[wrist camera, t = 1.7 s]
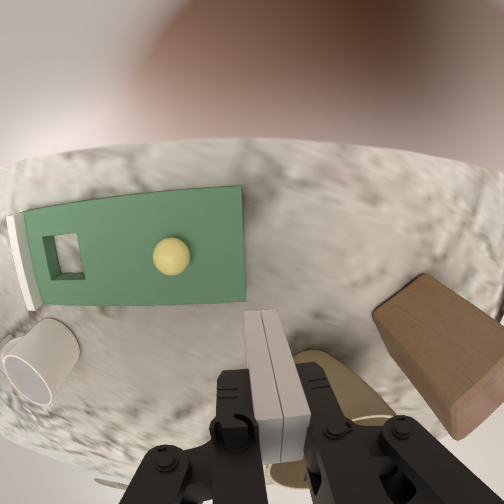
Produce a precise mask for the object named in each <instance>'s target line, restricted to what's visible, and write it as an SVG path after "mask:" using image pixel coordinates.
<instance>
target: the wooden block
mask: <svg viewBox="0 0 504 504" xmlns="http://www.w3.org/2000/svg"><path fill="white" fill-rule="evenodd" d="M373 316H374V321H375V323H376V325H377V327H378V330H379V332H380V334H381V336H382V338H383V340H384V343H385V345H386V347H387V349H388V352H389V354H390V356H391V357H392V358H393V359H394V361H395V362H396V363H397V364H398V366H399V367H400V368H401V370H402V371H403V372H404V373H405V375H406V376H407V377H408V379H409V380H410V381H411V383H412V384H413V385H414V387H415V388H416V389H417V390H418V392H419V393H420V394H421V396H422V397H423V398H424V400H425V401H426V403H427V404H428V405H429V407H430V408H431V409H432V411H433V412H434V413H435V415H436V416H437V417H438V419H439V420H440V422H441V423H442V424H443V426H444V427H445V429H446V430H447V431H448V433H449V434H450V436H451V437H452V438H453V439H455V440H457V441H459V440H461V439H463V438H465V437H466V436H467V435H468V434H469V433H471V432H472V431H473V430H474V429H475V428H477V426H479V425H480V424H481V423H482V422H483V421H484V420H485V419H487V417H489V416H490V415H491V414H492V413H493V412H494V411H495V410H496V409H497V408H498V407H499V406H500V405H501V404H502V403H503V402H504V326H503V325H501V324H500V323H499V322H497V321H496V320H494V319H493V318H492V317H490V316H489V315H487V314H486V313H484V312H483V311H482V310H480V309H479V308H477V307H476V306H474V305H473V304H471V303H470V302H468V301H467V300H465V299H464V298H462V297H461V296H459V295H458V294H456V293H455V292H453V291H452V290H450V289H449V288H447V287H446V286H444V285H443V284H441V283H439V282H438V281H436V280H435V279H433V278H431V277H430V276H428V275H427V274H423V275H421V276H419V277H418V278H417V279H416V280H414V281H413V282H412V283H411V284H409V285H408V286H407V287H405V288H404V289H403V290H402V291H400V292H399V293H398V294H396V295H395V296H394V297H392V298H391V299H390V300H388V301H387V302H386V303H384V304H383V305H381V306H380V307H379V308H377V309H376V310H375V311H374V313H373Z"/></svg>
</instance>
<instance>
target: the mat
mask: <svg viewBox="0 0 504 504" xmlns="http://www.w3.org/2000/svg"><path fill="white" fill-rule="evenodd" d="M6 219H7V226H8V232H9V238H10V244H11V249H12V254H13V258H14V263H15V267H16V271H17V275H18V279H19V283H20V287H21V290H22V294H23V297H24V300H25V304H26V307H27V310H29V311H36V310H37V309H38V308H39V307H40V306H41V305H43V304H52V305H93V306H140V305H184V304H209V303H229V302H246V284H245V262H244V240H243V217H242V192H241V186H224V187H207V188H193V189H180V190H169V191H158V192H148V193H139V194H130V195H121V196H113V197H106V198H98V199H91V200H85V201H78V202H72V203H65V204H59V205H54V206H48V207H42V208H37V209H32V210H27V211H23V212H20V213H17V214H14V215H10V216H7V217H6ZM70 233H77V236H78V242H79V248H80V254H81V259H82V264H83V269H84V273H63V274H61V272H60V268H59V263H58V258H57V253H56V248H55V242H54V237H53V235H61V234H70ZM165 238H177V239H180V240H181V241H183V242H184V243H185V244H186V245H187V247H188V249H189V252H190V261H189V264H188V266H187V267H186V269H185V270H184V271H183V272H181V273H180V274H177V275H166V274H163V273H161V272H160V271H159V270H158V269H157V268H156V266H155V264H154V262H153V251H154V249H155V247H156V245H157V244H158V243H159V242H160V241H161V240H163V239H165Z"/></svg>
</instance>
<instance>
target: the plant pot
mask: <svg viewBox="0 0 504 504" xmlns="http://www.w3.org/2000/svg"><path fill="white" fill-rule="evenodd" d="M292 357H293V360H294V363H295V364H298V363H306V362H314V361H315V362H316V363H317V364H318V365H320V366H321V367H322V368H323V369H324V371H325V374H326V376H327V379H328V380H329V383H330V385H331V387H332V389H333V392H334V394H335V396H336V398H337V401H338V403H339V405H340V407H341V410H342V412H343V414H344V415H345V417H347V418H349V419H350V420H352V421H353V422H354V423H355V424H358V425H364V426H383V425H384V423H385V422H386V421H387V420H388V419H389V418H391V417H394V416H396V413H395V412H394V411H393V410H392V409H391V408H390V407H389V406H388V404H387V403H386V402H385V401H384V400H383V399H382V398H381V397H380V396H379V395H378V394H377V393H376V392H375V391H374V390H373V389H372V388H371V387H370V386H369V385H368V384H367V383H366V382H365V381H364V380H362V379H361V378H360V377H359V376H358V375H357V374H355V373H354V372H353V371H352V370H350V369H349V368H348V367H346V366H345V365H344V364H342V363H341V362H339V361H338V360H336V359H335V358H333V357H332V356H330V355H329V354H327V353H325V352H323V351H320V350H306V351H302V352H300V353H297V354H296V355H294V356H292ZM306 464H307V463H306V460H305V456H304V455H303V460H298V461H292V462H284V463H281V461H280V463H276V464H267V467H266V473H267V477H268V478H269V480H270V481H271V482H273V483H274V484H276V485H278V486H282V487H284V488H289V489H300V490H304V489H305V490H307V489H309V485H308V481H304V482H303V476H304V472H305V468H306Z"/></svg>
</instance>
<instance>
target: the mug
mask: <svg viewBox="0 0 504 504" xmlns="http://www.w3.org/2000/svg"><path fill="white" fill-rule="evenodd" d="M79 354H80V351H79V345H78V343H77V340H76V338H75V337H74V335H73V334H72V332H71V331H70V330H69V329H68V328H67V327H66V326H65V325H63V324H62V323H61V322H59V321H57V320H54V319H43V320H41V321H40V322H38V323H37V324H36V325H35V326H34V327H33V328H32V329H31V330H30V331H29V332H28V333H27V334H26V335H25V336H22V337H17V338H15V339H13V340H11V341H9V342H8V343H7V344H6V345H5V346H4V347H3V349H2V352H1V360H2V362H3V367H4V370H5V373H6V375H7V377H8V379H9V380H10V382H11V383H12V385H13V386H14V387H15V388H16V389H17V391H18V392H19V393H20V394H22V395H23V396H24V397H25V398H27V399H28V400H30V401H31V402H33V403H35V404H37V405H41V406H48V405H50V404H51V403H52V401H53V399H54V398H55V396H56V394H57V393H58V391H59V389H60V388H61V386H62V385H63V383H64V381H65V380H66V378H67V377H68V375H69V374H70V372H71V371H72V369H73V367H74V366H75V364H76V363H77V361H78V358H79Z"/></svg>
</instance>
